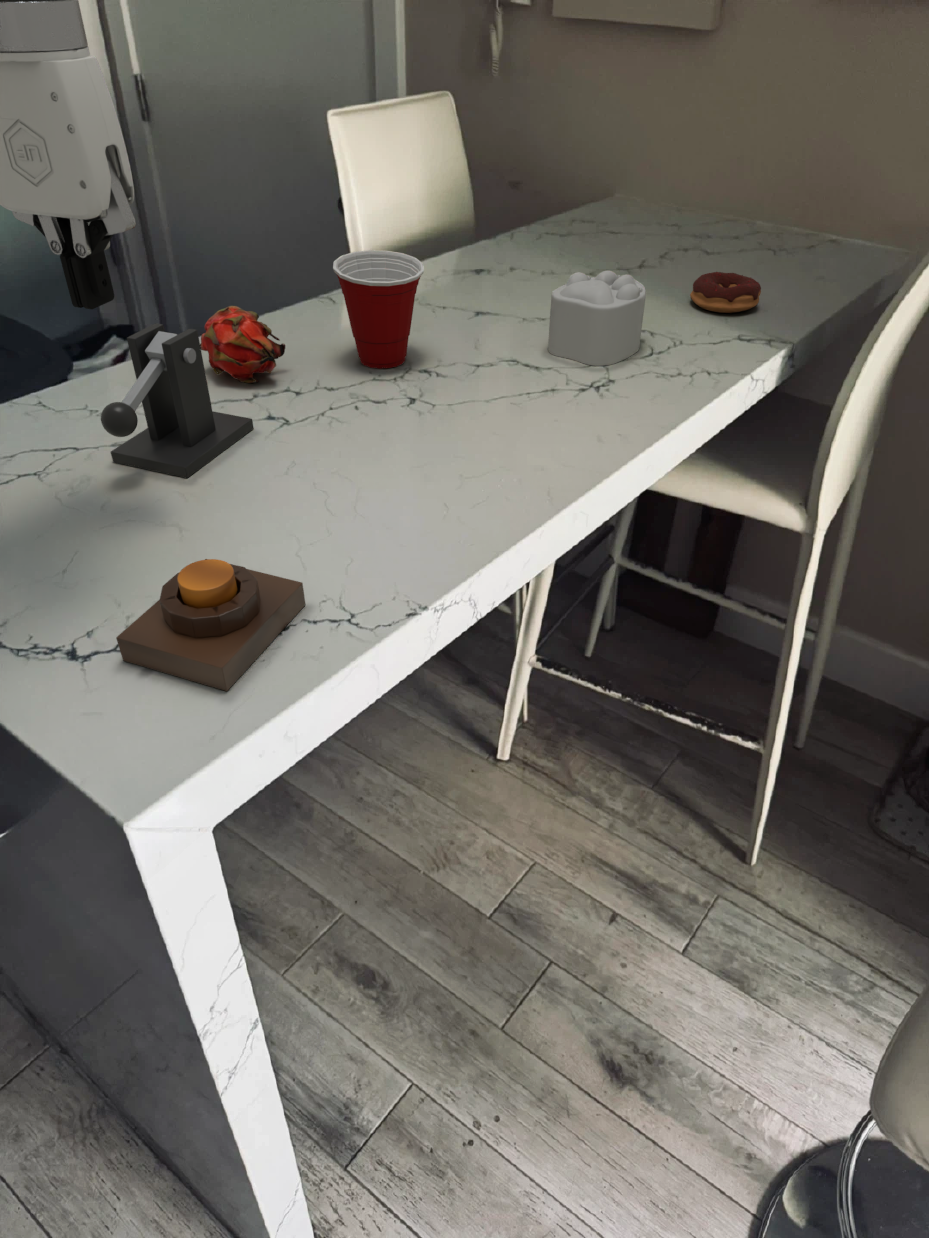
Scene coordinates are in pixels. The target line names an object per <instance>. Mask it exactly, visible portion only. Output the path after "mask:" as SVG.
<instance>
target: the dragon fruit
mask: <svg viewBox="0 0 929 1238" xmlns="http://www.w3.org/2000/svg"><path fill="white" fill-rule="evenodd" d="M259 317H260V316H259V314H258V313H257V312H255V311H253V310H244V309H243V308H241V307H239V306H237V305H229V306H227V307H225V308H221V309H219V310H217V311H216V312H215V313H214V314H212V316H210V317H209V318H208V319H207V321H206V322H205V324H204V326H203V327H204V331H205V332H204V333H202V334H201V336H200V347H201V351H204V352H207V353H208V362H209V366H210V367H211V369H212V371H213V372H214V374H216V375H217V376H219V375H221V374H223V373H224V372H226V373H228V374H229V375H231V377H233V379H235V380H238V381H239V382H240V383H245V384H253V383H259V380H257V379H255V378H254V374H256V373H258V374H263V373H267V374H271V373H272V372H273V371H274V370H275V368H276V367H277V361H276V360H279V358H282V357H283V356H284V354H285V351H286V344H285V343H281V344H279V343H277V342H276V341H281V339H280V338H279V337H277V336H276V335H274V334H273V333H272V332H273V330H272V329H271V328H270V327H269V326H268V325H267V324H266V323H263V322H262V321H258V320H259ZM269 336H270V337H272V339H274V340H275V341H274V340H272V339H270V338H269Z"/></svg>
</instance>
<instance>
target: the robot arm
mask: <svg viewBox="0 0 929 1238" xmlns="http://www.w3.org/2000/svg"><path fill="white" fill-rule="evenodd" d="M88 43H89V42H88V39H87V34H86V30H85V24H84V19H83V15H82V10H81V6H80V2H79V0H0V206H1V207H2V208H4V209H6V210H7V211H11V212H12V215H13V217H14V218H15V219H16V220H18V221H20V222H22V223H25V224H27V225H29V226H32V227H35V228H36V229H37V230H38V231H39V232H40V233H41V235H42V236H44V238H45V239H46V241H47V244H48V246H49V249H50V251H51V252H52V253H53V254H54V255H57V256H59V260H60V263H61V267H62V271H63V275H64V278H65V281H66V286H67V289H68V293H69V298H70V300H71V305H72V306H73V307H74V308H79V309H83V308H84V309H86V310H94V309H97V308H99V307H101V306H104V305H105V304H107V303H110V302H112V301H114V300H115V291H114V287H113V283H112V278H111V274H110V271H109V269H110V268H109V266H108V260H107V257H106V253H105V251H106V250H109V249H110V247H111V240H112V238H113V237H114V235H116V234H121V233H125V232H127V231H130V230H133V229H135V228H136V226H137V221H136V218H135V215H134V214H133V211H132V208H131V205H132V204H133V203H134V201H135V186H134V181H133V175H132V174H133V173H132V170H131V163H130V160H129V154H128V151H127V146H126V142H125V139H124V136H123V132H122V128H121V124H120V121H119V117H118V115H117V110H116V108H115V104H114V102H113V98H112V96H111V93H110V90H109V87H108V84H107V81H106V78H105V76H104V72H103V71H102V68H101V66H100V64H99V61H98V58H97V56H96V55H91V52H90V47H89V44H88Z"/></svg>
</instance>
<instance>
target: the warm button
mask: <svg viewBox="0 0 929 1238" xmlns="http://www.w3.org/2000/svg"><path fill="white" fill-rule="evenodd" d="M206 559H207V560H205V559H200V560H197V561H194V562H192V563H189V564H187V565H186V566H184V567H182V569H181V570H180V571H179V572H178V573H179V574H178V578H177V580H178V585H179V589H180V593H181V597H182V600H183V602H184V603H185V604H186V605H187V606H190V607H193V608H197V609H199V608H211V607H217V606H219V605H222V604H224V603H227V602H229V601H231V600H232V599H233V598H234V597H235V596H236V593H237V585H236V580H235V574H234V570H233V567H232V566H231V565H230V564H231V563H229V562H228V561H225V560H222V559H217V558H206Z"/></svg>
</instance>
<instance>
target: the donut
mask: <svg viewBox="0 0 929 1238" xmlns="http://www.w3.org/2000/svg"><path fill="white" fill-rule="evenodd" d="M761 293H762V287H761V284H760V282H759V281H756V279H754V278H753V277H749V276H746V275H744V274H742V275H741V274H739V273H736V272H723V271H722V272H721V271H714V272H708V273H703V274H700V275H699V277H697V278H696V279H695V280H694V281H693V283H692V291H691V292H690V294H689V296H690V300H692V302H693V303H694V304H695V305H697V306H698V307H699V308H701V309H704V310H707V311H709V312H715V313H721V314H732V313H733V314H734V313H739V312H744V311H748V310H750V309H752V308H754V307H756V306H757V305H758V303H759V302H760V296H761V295H762V294H761Z"/></svg>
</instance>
